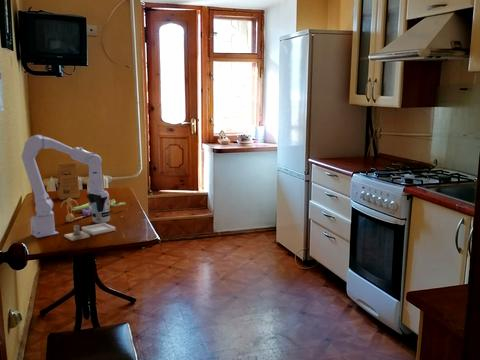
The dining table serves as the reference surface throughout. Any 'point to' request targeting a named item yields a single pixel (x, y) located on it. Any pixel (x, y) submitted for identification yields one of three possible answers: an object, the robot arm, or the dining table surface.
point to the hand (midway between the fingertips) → (97, 210)
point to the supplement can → (103, 213)
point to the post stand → (77, 234)
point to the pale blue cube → (94, 208)
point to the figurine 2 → (86, 207)
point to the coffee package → (68, 181)
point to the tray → (98, 228)
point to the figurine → (69, 216)
